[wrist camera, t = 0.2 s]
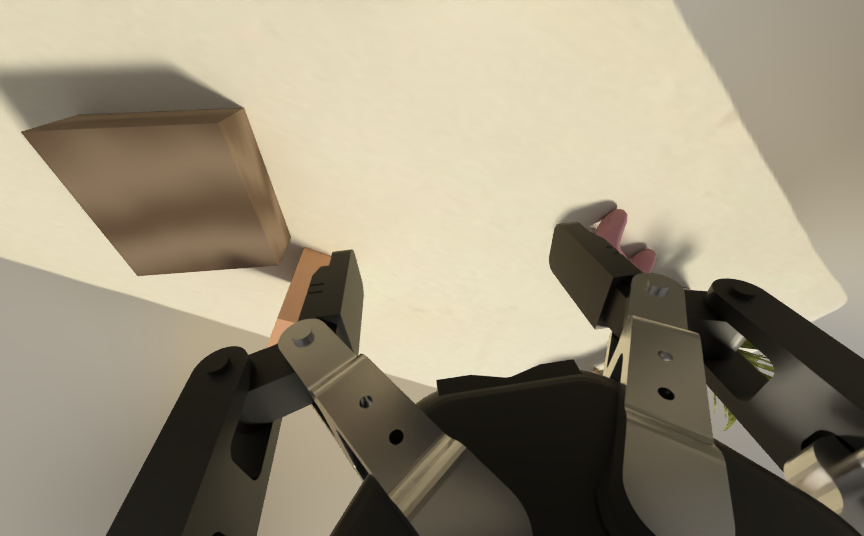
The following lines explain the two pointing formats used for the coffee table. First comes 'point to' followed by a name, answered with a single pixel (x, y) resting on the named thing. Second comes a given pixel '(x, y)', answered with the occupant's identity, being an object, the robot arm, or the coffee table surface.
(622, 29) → the coffee table surface
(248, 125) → the walnut block
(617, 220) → the pink rounded piece
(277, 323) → the peach block
